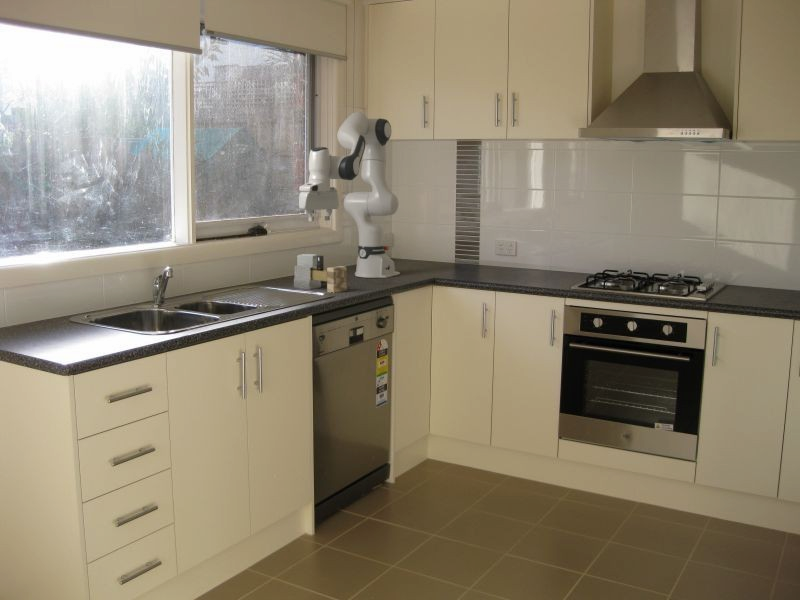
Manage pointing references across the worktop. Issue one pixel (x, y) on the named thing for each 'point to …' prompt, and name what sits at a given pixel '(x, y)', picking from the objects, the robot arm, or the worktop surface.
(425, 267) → the worktop surface
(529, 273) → the worktop surface
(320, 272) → the brass slip tube
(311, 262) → the supplement box
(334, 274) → the beech socket block
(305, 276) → the aluminium sleeve
